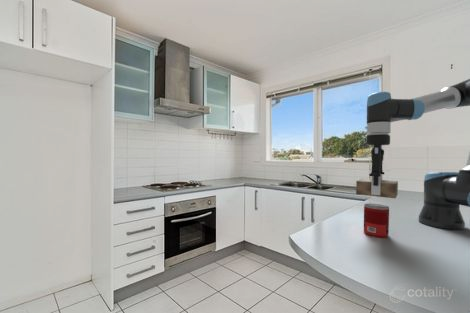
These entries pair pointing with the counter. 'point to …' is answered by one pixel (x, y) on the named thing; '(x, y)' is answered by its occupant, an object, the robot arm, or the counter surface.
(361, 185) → the brown wooden block
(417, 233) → the counter surface
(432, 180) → the robot arm
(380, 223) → the canned food
